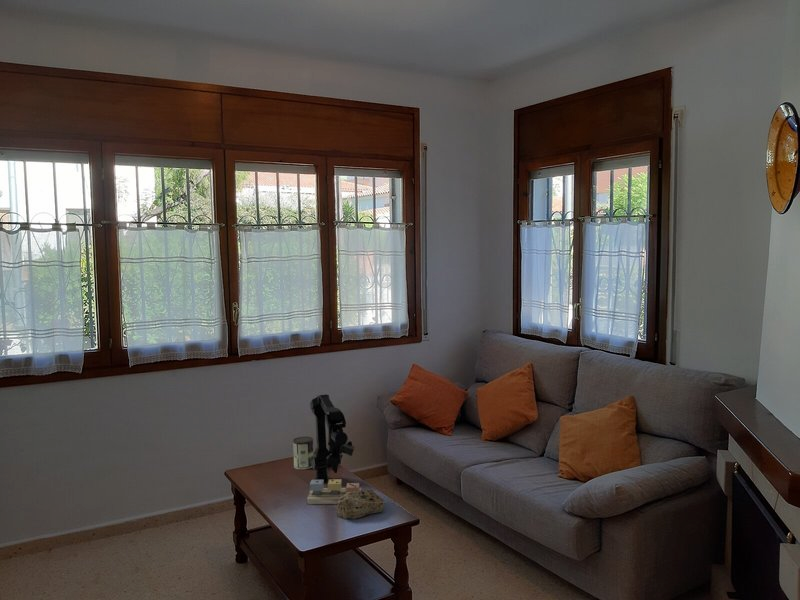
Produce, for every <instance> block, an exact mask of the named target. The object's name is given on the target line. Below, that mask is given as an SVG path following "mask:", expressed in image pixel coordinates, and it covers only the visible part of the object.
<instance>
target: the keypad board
mask: <svg viewBox="0 0 800 600" xmlns="http://www.w3.org/2000/svg"><path fill="white" fill-rule="evenodd" d="M359 489H360V490H363V488H362V487H359ZM345 494H346V487H341V490H339V494H338V495H331V491H328V487H323V490H322V491H321V494H320V495H313V491H310V490H309V494H308V495H307V498H306V499H307V502H306V503H307V505H337V502H338V501H339V498H341V497H342V496H343V495H345Z"/></svg>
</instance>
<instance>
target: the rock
mask: <svg viewBox="0 0 800 600" xmlns="http://www.w3.org/2000/svg"><path fill="white" fill-rule="evenodd" d="M385 503H386V502H385V501H384V498H382V497H381V496H380V495H378V494H377V493H376V492H375V491H374V490H373V489H362V490H359V491H356V490H355V491H353V492H347V493H346V494H345V495H343V496H342V497H341V498H339V501H338V502H337V504H336V505H337V508H336V509H337V510H336V516H337V517H338V518H341V519H344V520H347V519H350V518H352V519H353V520H355V519H359V518H362V517H366V516H369V515H372V514H374V513H375V514H377V513H382V512H383V510H384V505H385Z"/></svg>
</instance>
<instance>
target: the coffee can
mask: <svg viewBox="0 0 800 600" xmlns="http://www.w3.org/2000/svg"><path fill="white" fill-rule="evenodd" d="M292 446H293V450H292V451H293V468H294V469H296V470H309V469H313V468H312V460H313V457H314V438H313V437H312V436H311V437H310V436H298V437H295V438H293V439H292Z"/></svg>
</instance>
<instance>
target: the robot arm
mask: <svg viewBox="0 0 800 600" xmlns="http://www.w3.org/2000/svg"><path fill="white" fill-rule="evenodd" d="M309 407H310V410H311V413H312V414H313V415H314V417H315V432H316V433H315V434H316V435H315V436H316V448H315V450H314V451H313V460H312V468H311V469H313V470H314V471H315V479H314V480H324V483H328V482H329V479H330V476H329V471H328V470H329V468H332V471H333V472H334V474H337V473H338V468H339V465H340V464H342V460H343V456H344V455H343V454H346V455H348V456H349V457H352V456H353V453H354V450H355V445H354V444H353V441H350V440H349V441H348V438H349V437H348V434H347V433H346V432H345V431H344V429H343V428H347V427H346V426H347V421H346V417H345V414H344V413H343V411H342V410H341V409H340V408H338V407H335V405H334V404H333V401H331V399H330V396H329V394H319V395H316V397H315V398H312V399H311V401H310V402H309ZM326 426H327V429H326ZM326 430H327V431H328V432H327V431H326ZM326 432H327V433H326ZM327 434H328V442H327ZM327 445H328V447H327Z"/></svg>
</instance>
